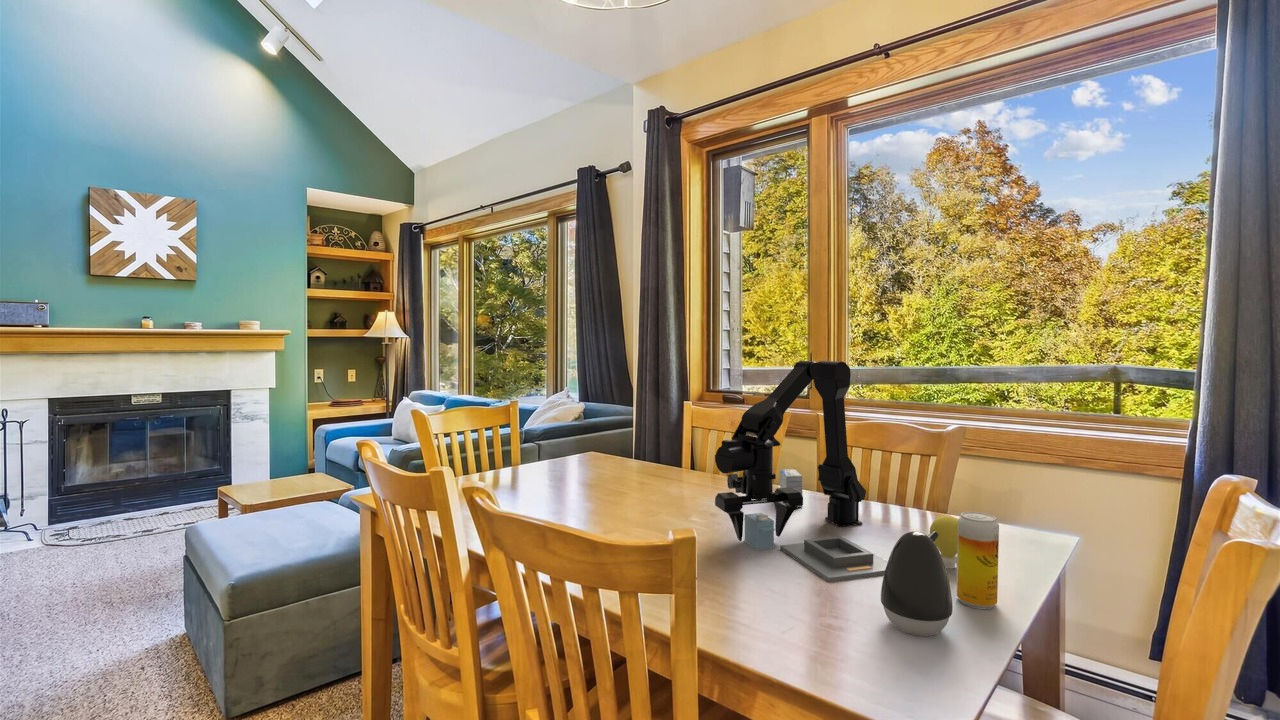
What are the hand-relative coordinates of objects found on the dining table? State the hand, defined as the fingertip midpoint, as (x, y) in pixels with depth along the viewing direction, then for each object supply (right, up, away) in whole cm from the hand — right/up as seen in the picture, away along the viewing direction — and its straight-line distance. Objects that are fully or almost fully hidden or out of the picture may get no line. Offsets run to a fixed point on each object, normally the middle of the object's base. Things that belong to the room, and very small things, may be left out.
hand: (758, 538), depth 132 cm
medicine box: (+15, 0, +31) cm, 35 cm away
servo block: (0, -1, 0) cm, 1 cm away
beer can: (+31, -3, -29) cm, 43 cm away
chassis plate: (+14, -2, -9) cm, 17 cm away
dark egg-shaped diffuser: (+17, -3, -38) cm, 41 cm away
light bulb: (+35, -2, -13) cm, 37 cm away
